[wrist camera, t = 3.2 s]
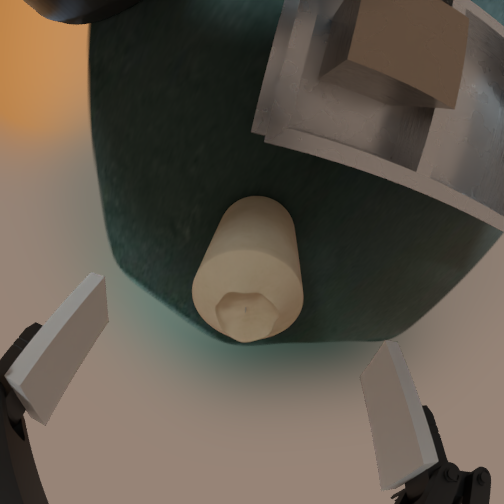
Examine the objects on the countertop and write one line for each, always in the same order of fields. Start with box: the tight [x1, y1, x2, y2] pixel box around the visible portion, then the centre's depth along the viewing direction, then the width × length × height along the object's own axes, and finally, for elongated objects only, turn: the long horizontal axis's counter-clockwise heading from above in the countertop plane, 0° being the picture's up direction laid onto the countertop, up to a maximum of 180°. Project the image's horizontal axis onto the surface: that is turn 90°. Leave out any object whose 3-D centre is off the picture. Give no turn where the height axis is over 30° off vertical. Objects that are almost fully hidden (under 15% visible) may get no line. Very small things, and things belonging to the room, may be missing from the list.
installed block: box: [318, 0, 469, 110], centre depth 11 cm, size 5×5×8 cm
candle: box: [192, 196, 303, 342], centre depth 17 cm, size 6×6×10 cm
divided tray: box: [251, 0, 504, 232], centre depth 13 cm, size 20×14×5 cm
